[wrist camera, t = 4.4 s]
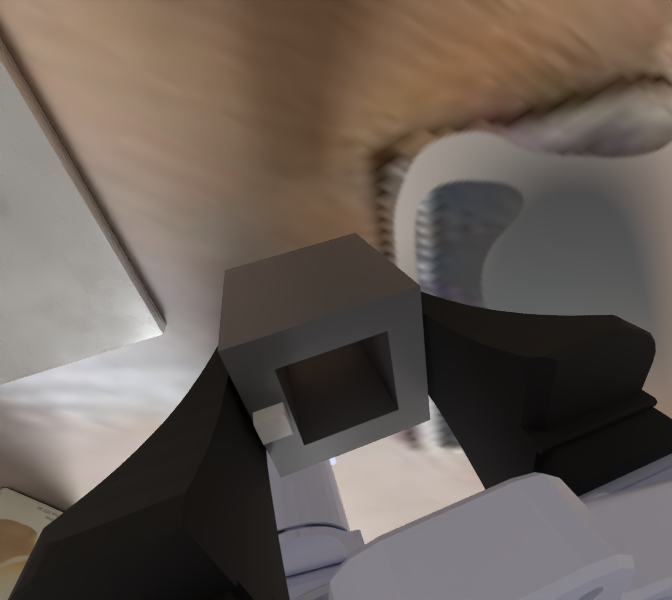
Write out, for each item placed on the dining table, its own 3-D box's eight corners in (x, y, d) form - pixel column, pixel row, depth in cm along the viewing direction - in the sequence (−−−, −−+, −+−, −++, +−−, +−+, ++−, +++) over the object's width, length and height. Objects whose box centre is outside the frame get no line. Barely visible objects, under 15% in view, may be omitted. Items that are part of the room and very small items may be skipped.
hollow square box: (373, 336, 15) (436, 429, 10) (267, 372, 14) (282, 490, 9) (355, 233, 12) (428, 292, 7) (224, 270, 11) (216, 362, 7)
